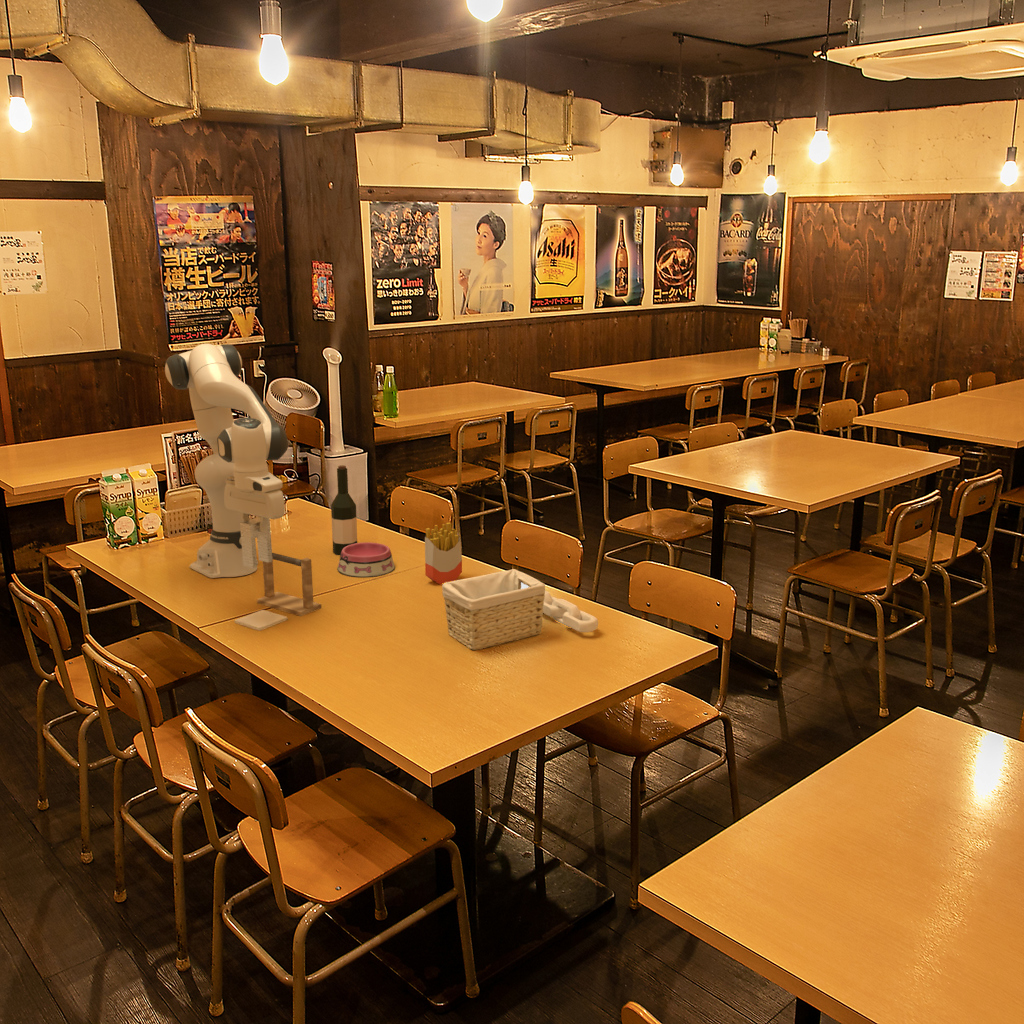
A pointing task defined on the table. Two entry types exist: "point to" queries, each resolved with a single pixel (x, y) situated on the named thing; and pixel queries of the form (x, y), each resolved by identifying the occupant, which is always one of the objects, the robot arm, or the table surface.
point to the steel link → (249, 545)
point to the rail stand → (284, 600)
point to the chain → (568, 614)
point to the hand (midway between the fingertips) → (255, 530)
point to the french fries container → (443, 554)
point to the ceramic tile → (261, 620)
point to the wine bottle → (343, 514)
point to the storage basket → (493, 608)
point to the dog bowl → (365, 560)
